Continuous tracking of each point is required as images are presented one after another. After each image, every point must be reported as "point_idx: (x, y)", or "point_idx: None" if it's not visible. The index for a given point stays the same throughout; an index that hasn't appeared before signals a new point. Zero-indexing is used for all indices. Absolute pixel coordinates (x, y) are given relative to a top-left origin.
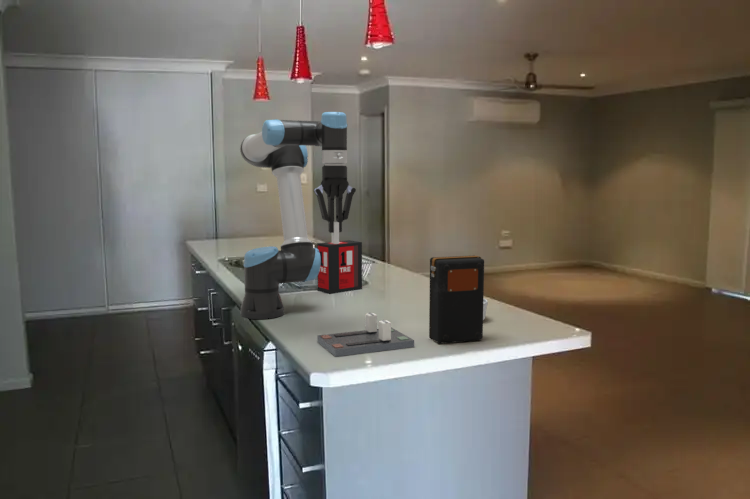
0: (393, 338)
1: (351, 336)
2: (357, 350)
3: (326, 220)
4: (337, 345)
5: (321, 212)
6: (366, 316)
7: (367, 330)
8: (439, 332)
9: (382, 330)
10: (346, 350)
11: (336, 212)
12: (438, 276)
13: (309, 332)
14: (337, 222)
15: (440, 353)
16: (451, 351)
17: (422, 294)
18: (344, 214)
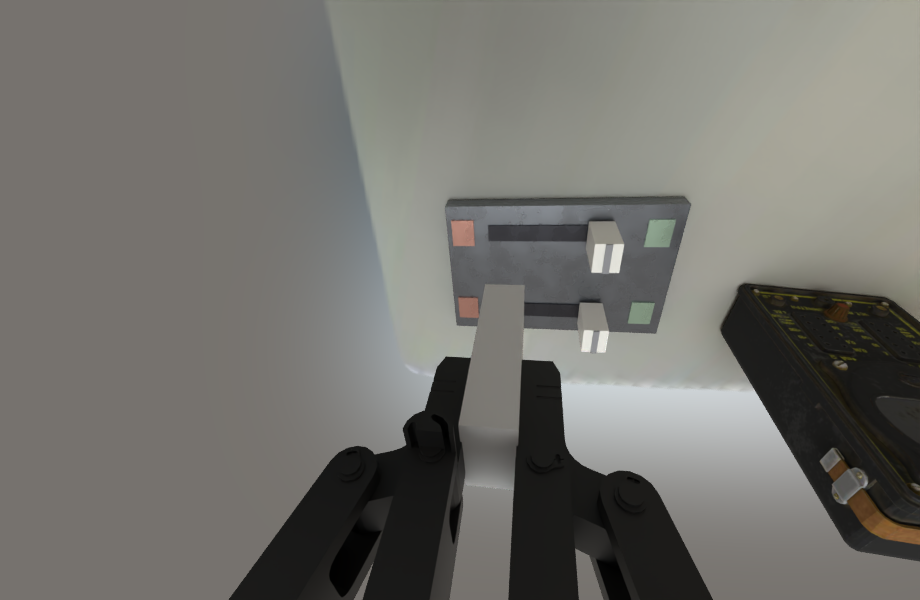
0: (619, 304)
1: (528, 250)
2: None
3: (386, 460)
4: (468, 308)
5: (284, 550)
6: (593, 248)
7: (587, 237)
8: (731, 350)
9: (579, 337)
10: None
11: (510, 572)
12: (814, 486)
13: (448, 80)
14: (501, 486)
15: (670, 373)
16: (702, 372)
17: None
18: (602, 587)
